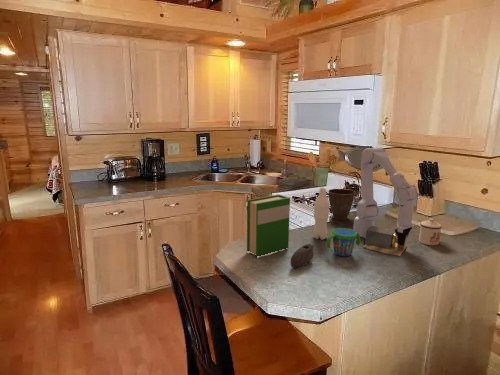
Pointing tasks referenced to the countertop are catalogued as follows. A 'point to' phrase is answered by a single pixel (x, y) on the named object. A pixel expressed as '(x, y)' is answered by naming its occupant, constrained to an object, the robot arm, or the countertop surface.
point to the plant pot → (341, 202)
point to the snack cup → (343, 241)
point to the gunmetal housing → (379, 237)
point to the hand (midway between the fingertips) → (402, 243)
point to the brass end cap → (395, 241)
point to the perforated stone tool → (302, 256)
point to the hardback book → (268, 224)
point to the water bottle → (321, 215)
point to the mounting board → (392, 251)
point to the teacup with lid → (430, 232)
